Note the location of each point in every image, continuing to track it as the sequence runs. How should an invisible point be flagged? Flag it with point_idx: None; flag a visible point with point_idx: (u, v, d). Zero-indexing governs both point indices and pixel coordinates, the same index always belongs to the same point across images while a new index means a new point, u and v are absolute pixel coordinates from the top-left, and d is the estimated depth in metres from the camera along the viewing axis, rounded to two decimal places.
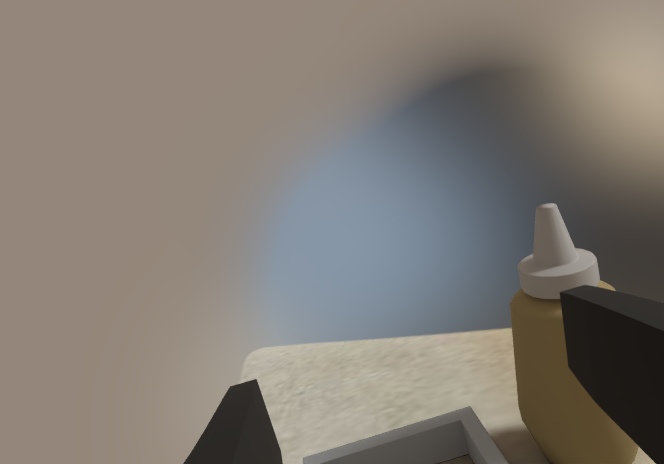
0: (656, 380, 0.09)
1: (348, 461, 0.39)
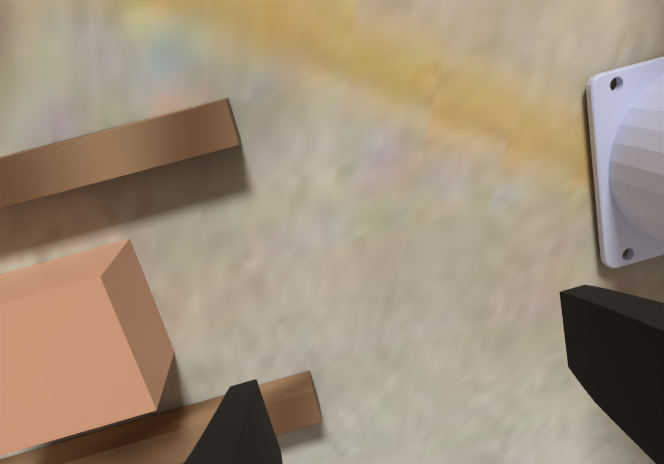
0: (657, 380, 0.09)
1: None
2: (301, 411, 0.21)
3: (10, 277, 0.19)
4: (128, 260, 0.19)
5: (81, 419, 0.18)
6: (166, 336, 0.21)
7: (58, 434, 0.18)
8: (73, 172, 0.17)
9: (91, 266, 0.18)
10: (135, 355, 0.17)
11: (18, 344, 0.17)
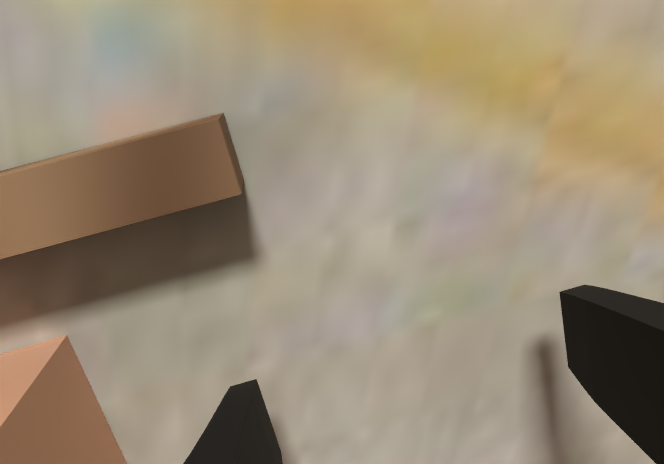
0: (656, 380, 0.09)
1: None
2: None
3: None
4: (61, 376, 0.12)
5: None
6: None
7: None
8: None
9: None
10: None
11: None
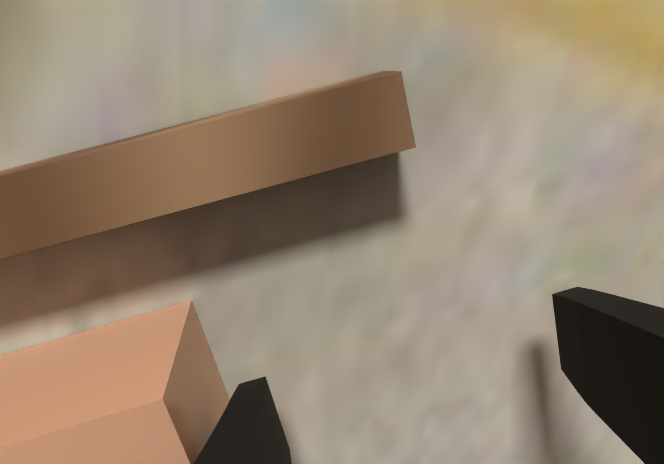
0: (647, 383, 0.09)
1: None
2: None
3: (1, 373, 0.12)
4: (193, 342, 0.12)
5: None
6: None
7: None
8: (141, 193, 0.10)
9: (139, 365, 0.10)
10: None
11: None
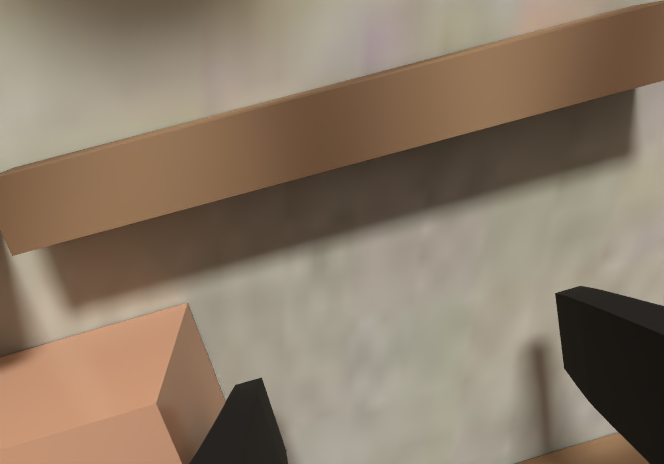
0: (651, 382, 0.09)
1: None
2: None
3: None
4: (188, 345, 0.12)
5: None
6: None
7: None
8: (430, 116, 0.11)
9: (133, 369, 0.10)
10: None
11: None
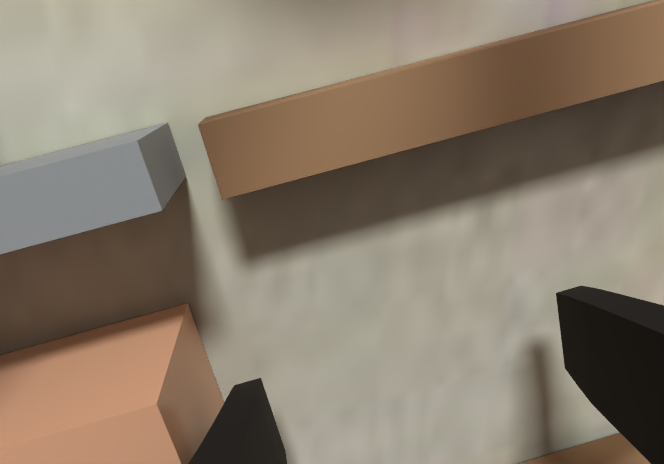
0: (652, 382, 0.09)
1: None
2: None
3: None
4: (188, 345, 0.12)
5: None
6: None
7: None
8: (628, 64, 0.11)
9: (133, 369, 0.10)
10: None
11: None
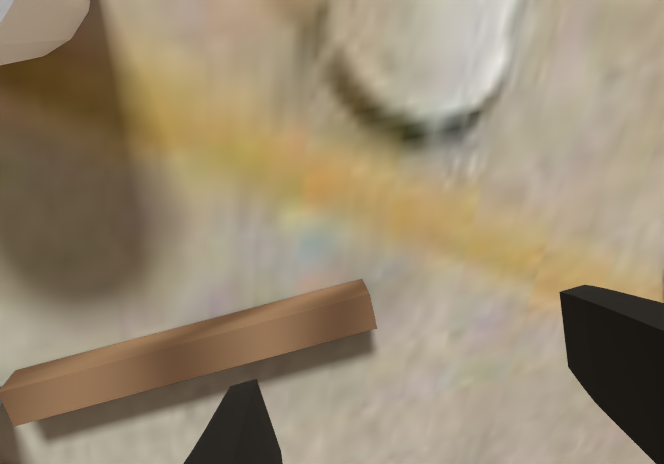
0: (656, 380, 0.09)
1: None
2: None
3: None
4: None
5: None
6: None
7: None
8: (235, 354, 0.20)
9: None
10: None
11: None
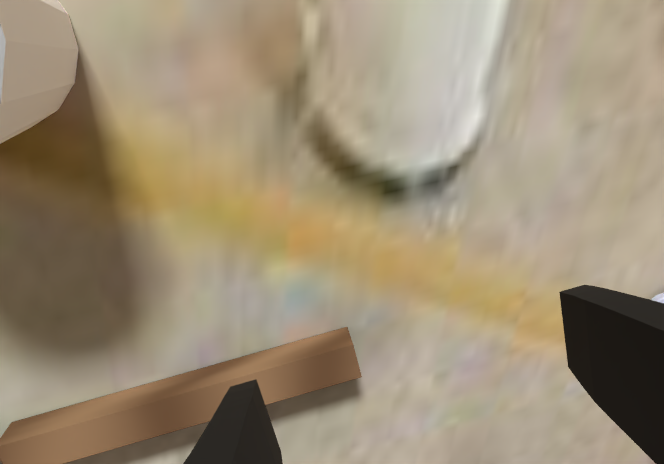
0: (656, 380, 0.09)
1: None
2: None
3: None
4: None
5: None
6: None
7: None
8: None
9: None
10: None
11: None
